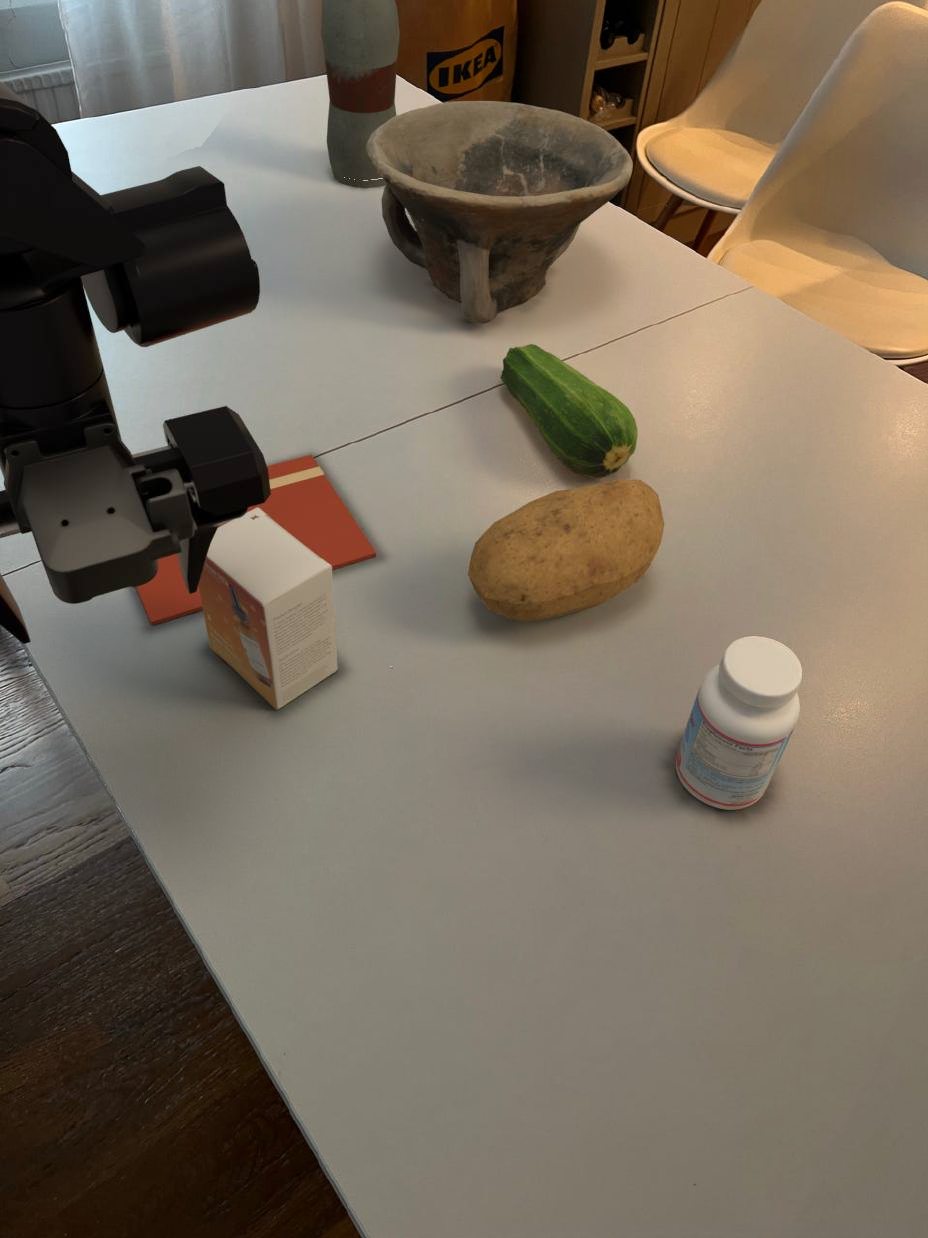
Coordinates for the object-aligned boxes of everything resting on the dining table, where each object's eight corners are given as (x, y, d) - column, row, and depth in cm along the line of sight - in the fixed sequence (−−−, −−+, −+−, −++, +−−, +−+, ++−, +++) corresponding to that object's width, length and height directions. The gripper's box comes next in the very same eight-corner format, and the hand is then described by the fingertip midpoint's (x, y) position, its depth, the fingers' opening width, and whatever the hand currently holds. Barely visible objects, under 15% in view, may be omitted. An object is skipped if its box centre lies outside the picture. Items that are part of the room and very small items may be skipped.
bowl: (550, 214, 124) (565, 83, 113) (654, 320, 107) (683, 179, 96) (341, 242, 116) (335, 105, 105) (418, 361, 100) (420, 213, 89)
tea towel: (151, 625, 74) (150, 621, 73) (104, 512, 82) (103, 508, 82) (376, 556, 80) (376, 552, 79) (311, 457, 88) (311, 453, 88)
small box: (209, 649, 72) (186, 540, 65) (271, 611, 75) (256, 503, 67) (277, 713, 68) (261, 606, 61) (340, 671, 71) (333, 563, 64)
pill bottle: (707, 723, 70) (747, 610, 61) (783, 775, 67) (835, 664, 59) (655, 774, 66) (690, 662, 58) (733, 831, 64) (781, 722, 55)
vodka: (314, 169, 130) (296, -112, 108) (371, 154, 134) (365, -121, 112) (356, 195, 125) (347, -94, 103) (414, 178, 129) (416, -103, 108)
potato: (445, 583, 78) (449, 489, 71) (620, 537, 83) (639, 445, 76) (489, 661, 73) (498, 568, 66) (674, 608, 77) (700, 516, 70)
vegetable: (604, 413, 80) (502, 296, 93) (559, 485, 84) (466, 364, 96) (667, 432, 84) (561, 318, 97) (622, 500, 88) (525, 381, 101)
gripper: (-179, 539, 37) (-43, 780, 48) (296, 420, 44) (318, 657, 55) (-198, 384, 44) (-75, 627, 55) (217, 300, 50) (251, 534, 62)
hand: (110, 612), depth 57 cm, fingers open, 9 cm apart
